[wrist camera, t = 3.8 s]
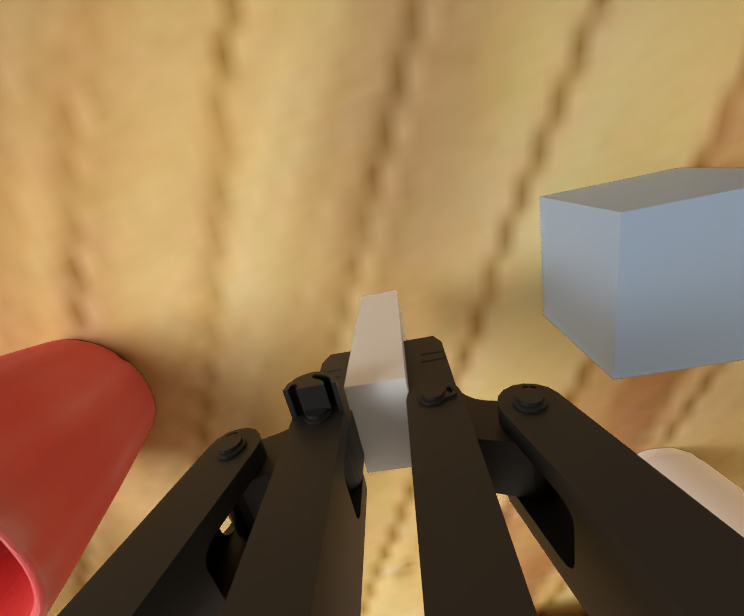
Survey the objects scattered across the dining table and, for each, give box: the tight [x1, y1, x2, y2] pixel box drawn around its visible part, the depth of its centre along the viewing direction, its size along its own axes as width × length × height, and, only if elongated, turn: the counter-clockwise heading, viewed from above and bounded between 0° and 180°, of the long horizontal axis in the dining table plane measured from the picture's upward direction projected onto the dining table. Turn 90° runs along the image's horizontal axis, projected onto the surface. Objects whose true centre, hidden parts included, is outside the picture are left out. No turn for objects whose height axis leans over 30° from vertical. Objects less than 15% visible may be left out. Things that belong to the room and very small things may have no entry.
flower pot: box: [0, 340, 155, 616], centre depth 16 cm, size 11×11×10 cm
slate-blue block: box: [540, 168, 744, 380], centre depth 14 cm, size 6×6×6 cm
